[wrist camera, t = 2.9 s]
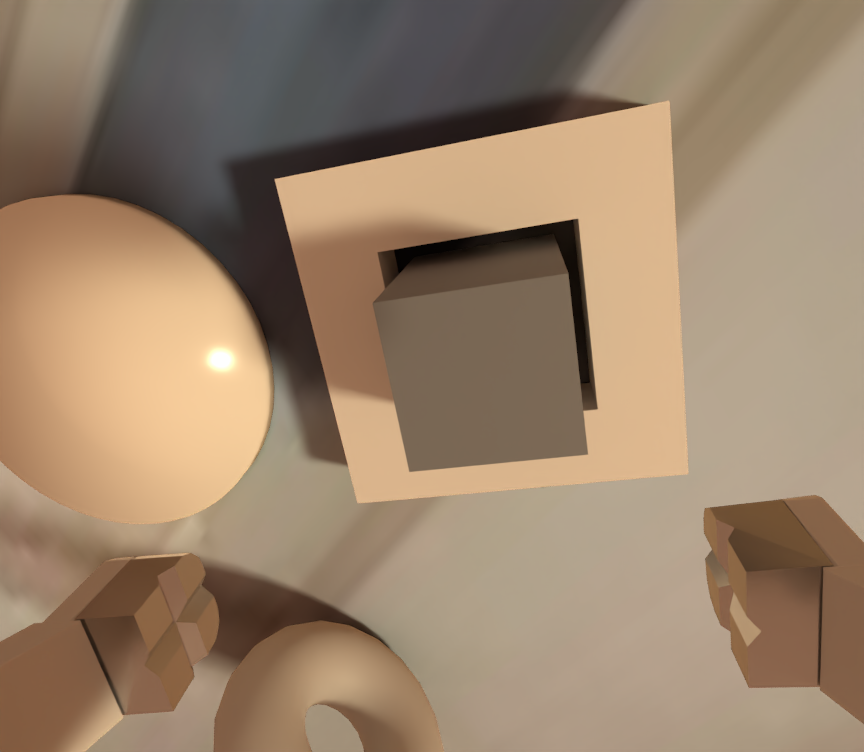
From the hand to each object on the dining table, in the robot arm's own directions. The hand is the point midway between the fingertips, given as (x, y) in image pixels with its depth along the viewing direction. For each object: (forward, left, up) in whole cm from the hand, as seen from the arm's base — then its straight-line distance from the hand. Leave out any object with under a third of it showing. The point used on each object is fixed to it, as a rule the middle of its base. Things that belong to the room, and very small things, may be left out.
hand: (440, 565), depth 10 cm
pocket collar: (0, 0, -14) cm, 14 cm away
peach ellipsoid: (+16, 0, -14) cm, 21 cm away
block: (0, 0, -14) cm, 14 cm away
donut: (+8, +15, -14) cm, 22 cm away
